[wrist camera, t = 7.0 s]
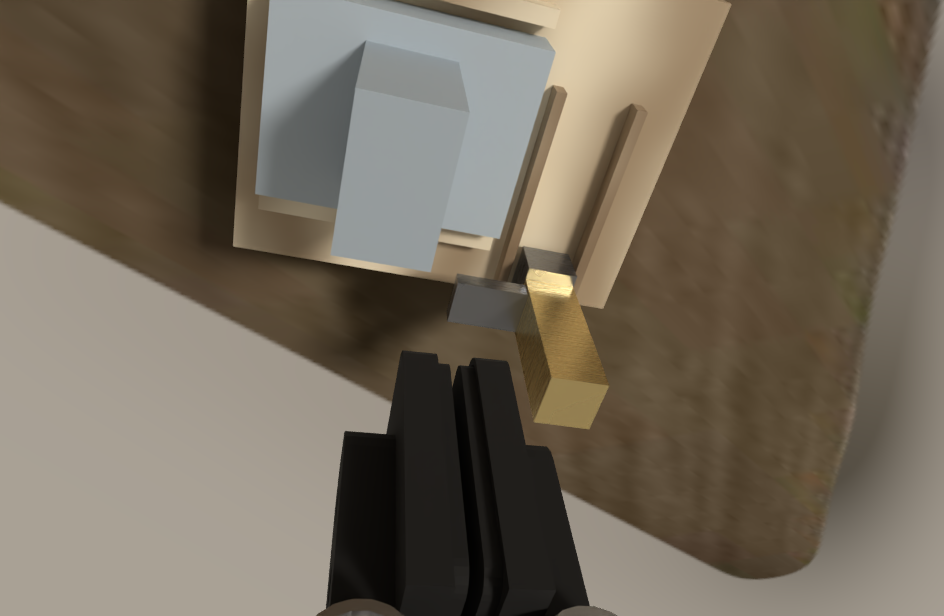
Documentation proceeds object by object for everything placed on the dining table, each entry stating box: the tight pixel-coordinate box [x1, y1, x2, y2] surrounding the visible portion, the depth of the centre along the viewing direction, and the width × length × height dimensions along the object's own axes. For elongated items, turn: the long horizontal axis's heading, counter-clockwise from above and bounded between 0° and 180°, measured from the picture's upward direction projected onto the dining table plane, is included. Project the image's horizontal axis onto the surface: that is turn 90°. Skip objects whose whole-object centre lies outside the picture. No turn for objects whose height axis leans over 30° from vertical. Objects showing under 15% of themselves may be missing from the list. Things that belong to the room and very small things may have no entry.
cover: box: [255, 0, 556, 272], centre depth 22 cm, size 9×7×7 cm
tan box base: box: [233, 0, 731, 309], centre depth 27 cm, size 16×13×5 cm
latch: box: [447, 246, 609, 429], centre depth 26 cm, size 5×3×8 cm, turn 76°
